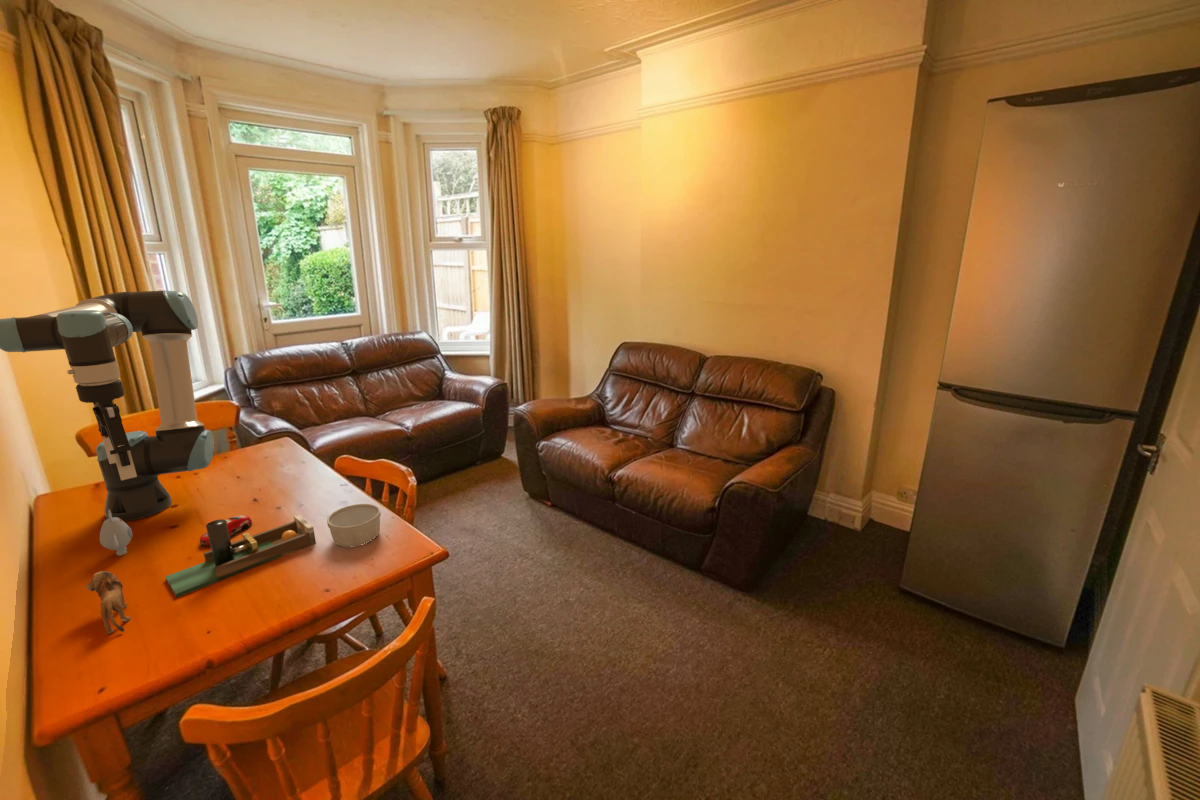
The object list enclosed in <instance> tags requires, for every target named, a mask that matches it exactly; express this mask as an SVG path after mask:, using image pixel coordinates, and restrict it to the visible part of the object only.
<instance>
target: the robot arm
mask: <svg viewBox="0 0 1200 800" xmlns="http://www.w3.org/2000/svg"><path fill="white" fill-rule="evenodd" d="M198 327H199V321H198V315H197V312H196V310H195V307H194V304H193V302H192V301H191V299H190V298H189V296H188V295H187V294H186V293H185V292H182V291H179V290H151V291H150V290H147V291H144V290H143V291H117V292H112V293H107V294H103V295H99V296H95V297H91V298H86V299H83V300H81V301H79V302H78V303H77V304H75V305H74V306H70V307H66V308H62V309H56V310H53V311H49V312H44V313H41V314H40V313H39V314H37V315H35V314H34V315H30V316H25V317H14V316H13V317H10V318H9V317H7V318H0V350H1V351H3V352H6V353H27V352H41V351H43V352H45V351H58V350H64V352H65V355H66V357H67V362H68V365H69V368H70V369H69V370H68V369H67V371H66V372H67V374H68V375H72V378H73V381H74V383H75V384H76V386H75V389H76V393H77V396H78V400H79V401H80V402H81V403H87V404H88V403H89V404H92V405H93V407H92V410H93V414H94V417H95V418H96V422H97V426H98V432H99V433H100V436H101V437H102V438H101V439H102V441H101V442H100V443H99V444H98V445H97V446H96V447H95V452H96V458H97V459H96V460H97V462H98V465H99V468H100V471H101V474H102V479H103V482H104V485H105V488H106V492H107V493H106V497H105V498H106V499H105V506H104V515H105V518H106V520H107V519H109V517H108V510H110V511H111V514H112V517H117V518H119V519H122V521H123V522H129V521H135V520H139V519H140V520H141V519H143V518H147V517H149V516H153V515H156V514H158V513H160V512H162V511H165V510H167V508H169V506H171V504H172V498H171V494H170V493H169V492H168V490H167V488H166V487H165V486H164V485H163V484H162V482H161V481H160V479H159V477H158V476H159V475H167V474H175V473H182V472H192V471H197V470H202V469H205V468H207V467H209V466H210V464H211V462H212V460H213V457H214V452H215V451H214V449H215V439H214V433H213V432H212V430H210V429H206V428H205V427H206V426H205V424H204V422H201V421H199V420H198V416H197V410H196V409H197V408H196V400H195V394H194V387H193V380H192V373H191V365H190V363H191V362H190V357H189V350H188V348H189V347H188V341H189V340H190V339H191V338H192V337H193V333H192V331H194V330H197V329H198ZM133 333H141V336H142V338H143V339H144V340H146V341H147V342H149V346H150V352H151V353H150V354H151V361H152V366H153V367H152V368H153V374H154V375H153V376H154V381H155V388H156V394H157V395H156V396H157V404H158V412H159V418H160V424H159V426H158V427H156V428H155V435H151V436H149V434H148V433H147V432H146V431H144V430H142V431H141V430H135V431H129V432H126V430H125V427H124V425H123V420H122V417H121V414H120V413H121V411H120V407H119V405H117V404H116V403H114V400H116V399H120V398H122V397H124V396H125V389H124V385H123V381H122V380H120V379H119V378H121V373H120V370H119V367H118V363H117V359H116V355H115V352H114V349H113V348H114V347H117V346H120V345H123V344H124V343H125V342H127V341H128V340H129V339H130V338H131V337H132V335H133Z"/></svg>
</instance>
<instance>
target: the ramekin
mask: <svg viewBox="0 0 1200 800" xmlns="http://www.w3.org/2000/svg"><path fill="white" fill-rule="evenodd" d="M381 515H382V514H381V509H380V507H379V506H377V505H375V504H373V503H356V504H355V503H354V504H350V505H347V506H344V507H341V508H339V509H337V510H334V511H333V512H331V514H329V516H328V517H327V519H326V524H327V526H328V528H329V531H330V535H331V537H332V540H333V542H334V543H335V544H337V545H338V546H339V545H340V546H339V547H341V546H344V547H343V548H352V547H351V546H358V545H361V544H364V543H366V542H368V541H370V540H372V539H373V538H374V537H376V536H378V535H379V534H380V530H381ZM378 533H379V534H378ZM376 538H377V537H376ZM372 541H373V540H372ZM364 545H365V544H364ZM361 546H362V545H361ZM358 547H359V546H358Z"/></svg>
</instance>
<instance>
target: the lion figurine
mask: <svg viewBox="0 0 1200 800" xmlns="http://www.w3.org/2000/svg"><path fill="white" fill-rule="evenodd" d="M84 587H85V588H86V589H87V590H89V591H90V592H94V591H95V592H96V593H97V595H98V596H99V598H100V600H101V602H100V615H101V618H102V621H103V624H104V629H105V635H109V634H112V633H113V632H114V630H113V628H112V627H111V624H112V625H113V626H114V627H115V628H116V629H118V631H119V632H125V628H123V626H121V625H120V624H118V623H117V621H116V619H115V618H114V617H115V616H114V614H113V612H116V613H117V614H118V615H119V616H120V620H122V621H123V622H128V621H130V620H131V619H132V618H131V616H128V615H127V616H126V615H125V608H126V607H127V606H128V605H127V603H125V594H124V593H123V587H124V586H123V583H122V581H121V580H120V579H119V578H118V577H117V576H116V575H115V574H113V573H111V572H110V571H107V570H106V571H105V570H101V571H98V572H97V571H96V572H95V573H94V574H93V577H92V579H91V580H90V581H89V582H88V583H87V584H85V586H84ZM109 620H110V621H109ZM110 622H111V624H110Z"/></svg>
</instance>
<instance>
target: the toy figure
mask: <svg viewBox="0 0 1200 800" xmlns="http://www.w3.org/2000/svg"><path fill="white" fill-rule="evenodd" d="M108 517H109V519H107V518H106V519H105V520H104V521H103V523H102V524H101V528H100V531H99V543H100V544H101V545H102V547H103V548H105V549H108V550H111V551H116V552H115V554H116V555H117V556H120V557H121V556H124V555H126V554H127V553H128V547H127V545H128V544H130V542H131V540H132V538H133V531H132V528H131V526H129V525H128V524H127V523H126V521H122V519H119V518H117V517H112V514H111V511H110V510H108Z"/></svg>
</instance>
